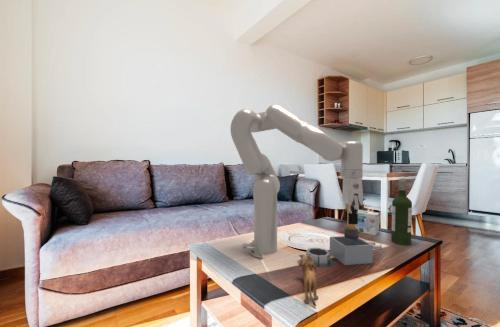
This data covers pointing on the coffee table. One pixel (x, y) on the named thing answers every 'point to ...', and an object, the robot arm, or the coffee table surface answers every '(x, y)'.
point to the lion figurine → (308, 277)
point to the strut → (351, 229)
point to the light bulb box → (368, 222)
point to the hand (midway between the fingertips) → (351, 222)
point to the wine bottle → (401, 216)
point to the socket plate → (320, 257)
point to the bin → (351, 250)
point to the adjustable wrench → (375, 245)
